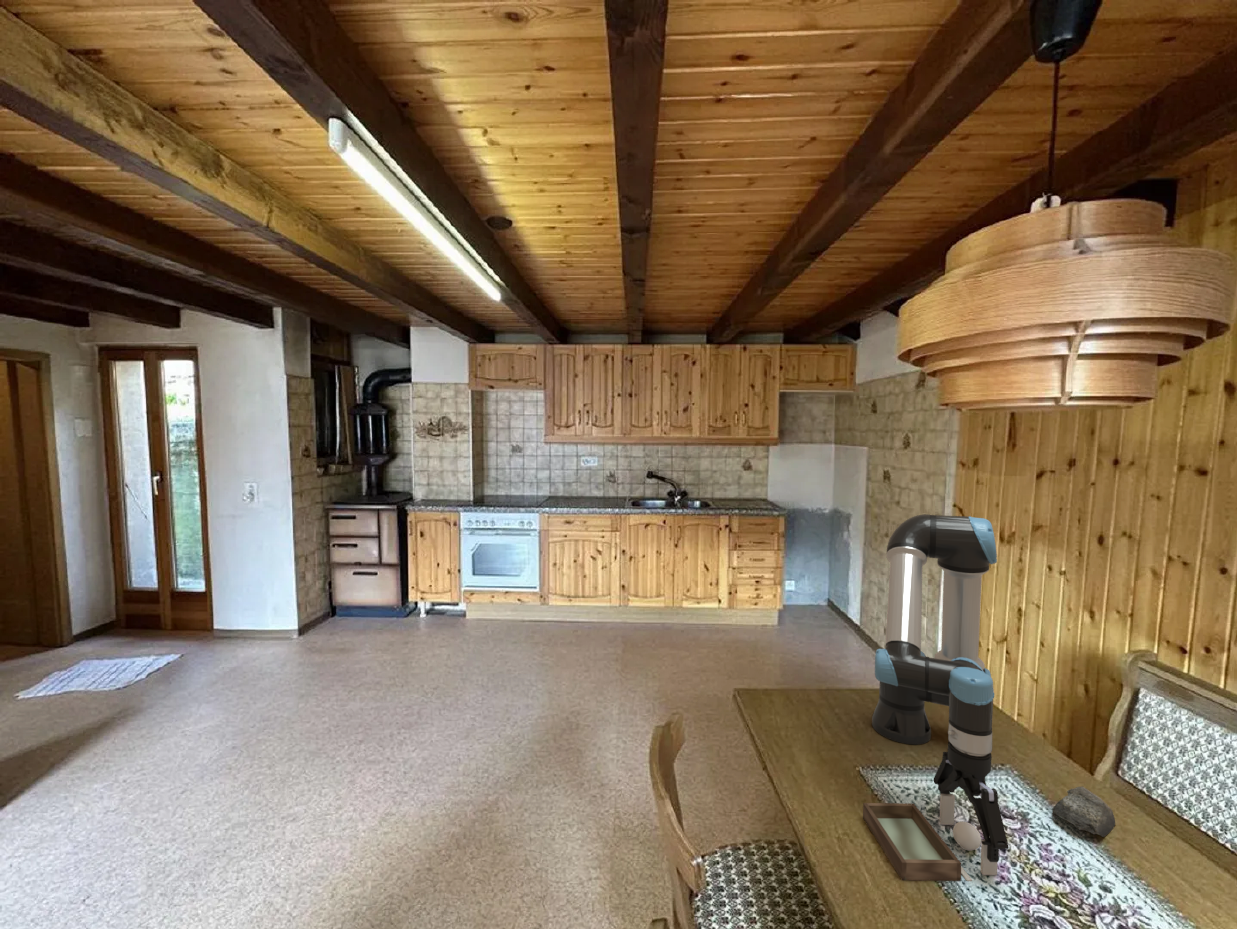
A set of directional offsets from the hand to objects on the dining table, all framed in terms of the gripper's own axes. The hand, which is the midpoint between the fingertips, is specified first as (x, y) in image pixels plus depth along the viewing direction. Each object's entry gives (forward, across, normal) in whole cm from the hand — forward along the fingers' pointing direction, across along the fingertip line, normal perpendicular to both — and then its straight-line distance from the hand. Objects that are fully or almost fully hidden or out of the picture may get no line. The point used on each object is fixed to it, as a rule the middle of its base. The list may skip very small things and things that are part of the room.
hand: (966, 847), depth 110 cm
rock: (0, -7, +30) cm, 31 cm away
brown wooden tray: (0, 0, -12) cm, 12 cm away
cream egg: (0, 0, 0) cm, 0 cm away
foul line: (0, 0, -5) cm, 5 cm away
